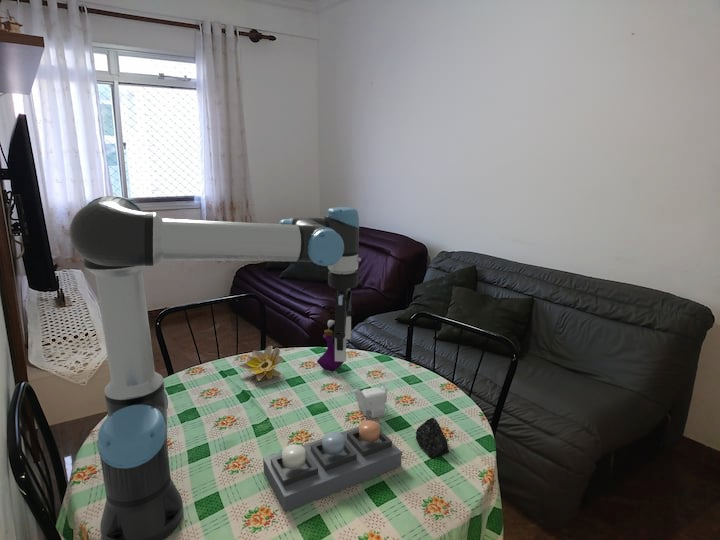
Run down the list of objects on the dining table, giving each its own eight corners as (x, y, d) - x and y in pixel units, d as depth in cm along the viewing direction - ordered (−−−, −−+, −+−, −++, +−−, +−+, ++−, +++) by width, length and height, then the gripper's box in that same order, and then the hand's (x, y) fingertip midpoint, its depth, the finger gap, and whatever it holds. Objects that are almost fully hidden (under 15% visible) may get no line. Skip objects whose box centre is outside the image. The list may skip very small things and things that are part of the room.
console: (285, 512, 94) (284, 490, 92) (263, 472, 105) (262, 452, 104) (401, 466, 108) (401, 446, 107) (371, 435, 120) (371, 417, 119)
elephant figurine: (366, 428, 123) (366, 399, 121) (349, 406, 134) (349, 379, 132) (396, 420, 127) (397, 392, 125) (377, 399, 138) (378, 373, 135)
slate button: (328, 457, 102) (328, 448, 101) (318, 445, 106) (318, 436, 106) (348, 450, 104) (348, 441, 104) (338, 438, 109) (338, 429, 108)
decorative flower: (232, 366, 154) (238, 339, 152) (260, 364, 161) (266, 338, 160) (253, 386, 143) (260, 357, 142) (282, 382, 151) (289, 355, 150)
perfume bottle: (333, 375, 152) (333, 326, 148) (316, 369, 156) (316, 321, 152) (346, 367, 158) (346, 320, 154) (329, 361, 162) (329, 315, 158)
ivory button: (287, 472, 97) (287, 462, 96) (279, 458, 101) (278, 449, 101) (309, 464, 100) (309, 454, 99) (300, 451, 104) (300, 442, 103)
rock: (429, 461, 111) (430, 441, 109) (409, 437, 120) (410, 418, 118) (453, 454, 113) (455, 435, 112) (432, 432, 122) (433, 413, 121)
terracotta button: (365, 444, 107) (365, 435, 106) (355, 432, 111) (355, 424, 110) (383, 437, 109) (384, 429, 109) (372, 427, 114) (372, 418, 113)
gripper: (354, 285, 98) (353, 372, 103) (361, 259, 122) (360, 331, 127) (320, 284, 98) (321, 371, 103) (334, 258, 122) (334, 330, 128)
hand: (343, 349), depth 115 cm, fingers open, 13 cm apart
